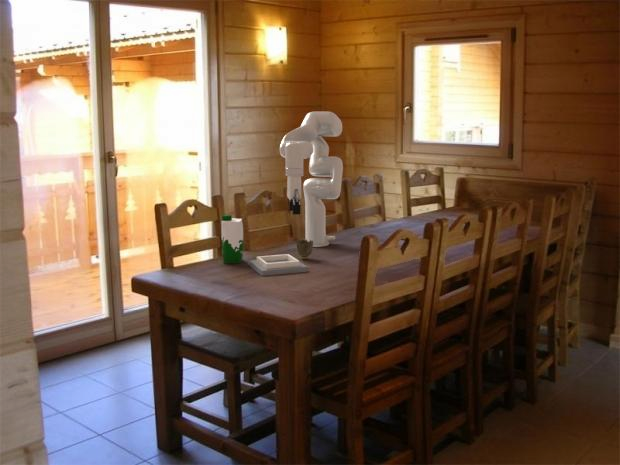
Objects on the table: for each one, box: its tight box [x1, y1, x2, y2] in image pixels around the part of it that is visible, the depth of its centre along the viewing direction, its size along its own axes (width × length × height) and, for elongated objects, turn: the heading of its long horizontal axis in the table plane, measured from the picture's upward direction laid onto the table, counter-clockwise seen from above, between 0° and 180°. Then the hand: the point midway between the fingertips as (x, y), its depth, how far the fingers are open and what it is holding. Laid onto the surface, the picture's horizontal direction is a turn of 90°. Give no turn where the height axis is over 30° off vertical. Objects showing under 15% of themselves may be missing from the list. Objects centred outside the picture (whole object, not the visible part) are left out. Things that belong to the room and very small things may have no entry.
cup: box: [295, 239, 314, 261], centre depth 311 cm, size 8×7×8 cm
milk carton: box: [220, 213, 244, 264], centre depth 306 cm, size 9×9×20 cm
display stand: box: [248, 253, 308, 277], centre depth 295 cm, size 19×19×4 cm
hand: (294, 212), depth 306 cm, fingers open, 9 cm apart
